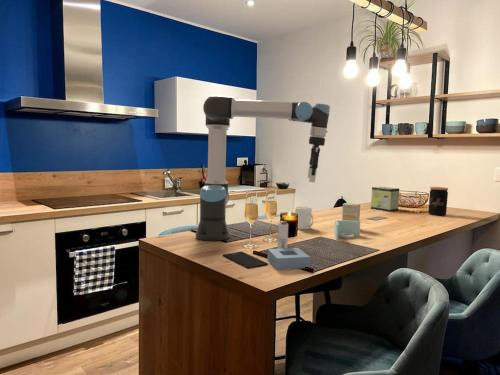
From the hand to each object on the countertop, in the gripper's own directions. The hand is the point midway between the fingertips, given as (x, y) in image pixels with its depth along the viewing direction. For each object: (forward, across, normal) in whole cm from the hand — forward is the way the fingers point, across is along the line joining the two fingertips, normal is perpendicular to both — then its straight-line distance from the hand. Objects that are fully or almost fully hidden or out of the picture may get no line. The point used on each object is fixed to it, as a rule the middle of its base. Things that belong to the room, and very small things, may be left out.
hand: (310, 180), depth 188 cm
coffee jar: (+21, +69, -91) cm, 116 cm away
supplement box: (+25, +14, -26) cm, 38 cm away
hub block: (+24, -54, +8) cm, 60 cm away
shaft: (+25, -41, +10) cm, 49 cm away
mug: (+27, +8, -1) cm, 28 cm away
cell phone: (+27, -53, +24) cm, 64 cm away
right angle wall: (+25, -8, -21) cm, 33 cm away
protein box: (+25, +82, -60) cm, 104 cm away
